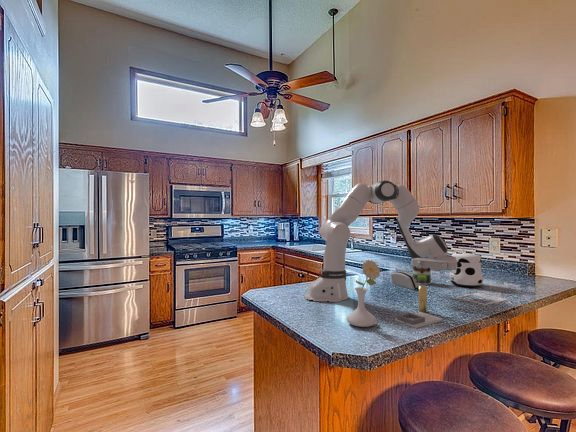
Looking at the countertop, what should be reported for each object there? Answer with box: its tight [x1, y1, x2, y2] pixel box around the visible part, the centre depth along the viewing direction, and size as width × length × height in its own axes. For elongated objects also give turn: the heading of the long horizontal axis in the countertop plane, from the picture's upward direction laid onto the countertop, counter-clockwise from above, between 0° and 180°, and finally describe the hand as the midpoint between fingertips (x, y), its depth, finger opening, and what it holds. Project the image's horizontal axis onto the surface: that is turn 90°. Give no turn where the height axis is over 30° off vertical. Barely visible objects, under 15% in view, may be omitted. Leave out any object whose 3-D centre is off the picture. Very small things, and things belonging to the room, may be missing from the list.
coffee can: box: [412, 266, 432, 286], centre depth 191 cm, size 10×10×14 cm
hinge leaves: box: [394, 311, 443, 329], centre depth 123 cm, size 16×10×2 cm, turn 120°
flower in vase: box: [345, 259, 381, 328], centre depth 119 cm, size 13×11×25 cm
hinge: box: [390, 270, 420, 291], centre depth 182 cm, size 17×5×10 cm, turn 23°
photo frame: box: [455, 292, 508, 306], centre depth 154 cm, size 15×1×18 cm
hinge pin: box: [418, 285, 428, 314], centre depth 134 cm, size 3×3×11 cm
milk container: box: [449, 253, 484, 288], centre depth 184 cm, size 17×17×18 cm
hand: (430, 265), depth 144 cm, fingers open, 8 cm apart
